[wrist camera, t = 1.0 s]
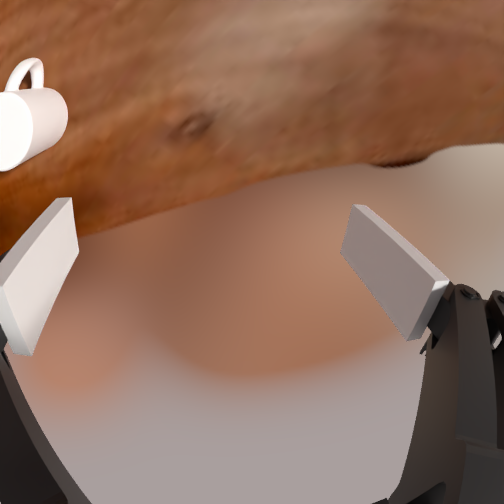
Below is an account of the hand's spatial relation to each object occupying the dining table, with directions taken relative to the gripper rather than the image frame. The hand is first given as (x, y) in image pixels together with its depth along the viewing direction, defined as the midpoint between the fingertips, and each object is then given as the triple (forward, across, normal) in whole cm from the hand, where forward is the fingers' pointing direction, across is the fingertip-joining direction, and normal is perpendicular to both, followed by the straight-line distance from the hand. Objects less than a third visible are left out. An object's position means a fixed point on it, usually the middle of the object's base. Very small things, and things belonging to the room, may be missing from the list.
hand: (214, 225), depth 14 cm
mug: (+26, -21, +5) cm, 34 cm away
